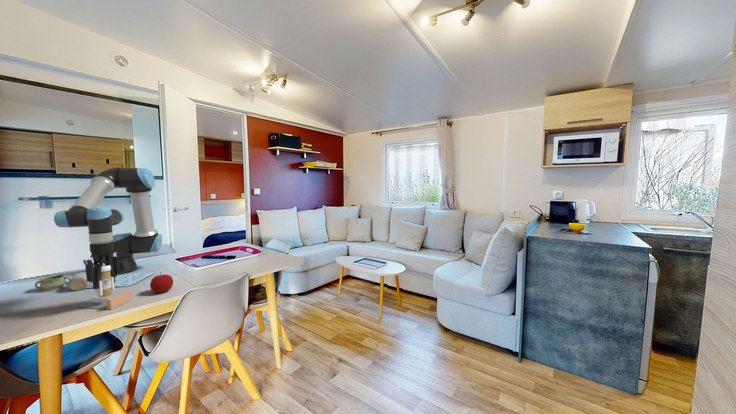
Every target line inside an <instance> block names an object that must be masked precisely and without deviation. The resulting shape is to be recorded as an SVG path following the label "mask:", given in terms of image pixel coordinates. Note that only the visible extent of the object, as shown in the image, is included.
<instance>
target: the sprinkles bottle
mask: <svg viewBox="0 0 736 414" xmlns="http://www.w3.org/2000/svg"><path fill="white" fill-rule="evenodd" d="M110 270H111V266H108V265H105V264H103V266H102V268H101V275H100V280H99V281H102V291H103V295H102V296H98V298H105V297H106V298H107V297H109V296H112V295H113V291H112V288H111V287H112V285H111V273H110Z"/></svg>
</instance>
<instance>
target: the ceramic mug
mask: <svg viewBox="0 0 736 414" xmlns="http://www.w3.org/2000/svg"><path fill="white" fill-rule="evenodd" d="M68 281H69V280H68ZM68 281H67V282H68ZM67 286H68V288H69V290H71V291H74V292H75V291H76V292H77V291H82V290H84V289H86V288H87V287H88V288H93V282H88V281H87V277H86V271H85V272H84V271H82V272H80V271H79V272H78V273H75V274H74V275H72V277H71V278H70V281H69V282H68V285H67Z"/></svg>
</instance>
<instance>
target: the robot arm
mask: <svg viewBox="0 0 736 414" xmlns="http://www.w3.org/2000/svg"><path fill="white" fill-rule="evenodd" d="M155 181H156V180H155V177H154V174H153V173H152V171H151V170H150V169H148V168H142V167H112V168H108V169H105V170H103V171H100V172H99V173H97V174H96V175H94V176H93V177H92V178H91V180H90V182H89V183H90V184H89V186H88V187H87V188H86V189H85V190H84V192H83V193H82V194H81V195H80V196H79V197H78V199H76V201H75V202H74V203H73V204H72V205H71V206H70V208H69V209H68V210H65V209H64V210H59V211H56V213H54V216H53V222H54V223H55V226H56V227H59V228H82V227H83V228H85V227H87V228H88V241H89V252H90V253H91V255H90V256H89V258H87V259H83V260H82V262H83V263H84V267H85V273H86V277H87V281H88V282H93V283H92V284H93V287H92V288H93V290H94V293H95V296H96V297H97V296H98V297H99V296H102V295H103V291H102V281H99V280H100V275H101V268H102V266H104V265H108V266H111V270H110V273H111V285H112V287H111V288H112V292H115V291H116V289H115V283H116V277H117V276H118V275H123V274H124V275H125V274H127V273H133V272H135V271H137V270H138V264H137V262H136V260H135V258H134V254H146V253H147V254H148V253H150V254H151V253H157V252H159V251H160V250H161V248H162V243H163V234H162V233H159V232H158V229H156V228H155V226H154V217H153V212H152V206H151V199H150V192H152V189H153V188H154V187H155V184H156V183H155ZM114 189H125V191H126V193H127V194H129V195H130V201H131V206H132V213H133V218H134V224H135V230H136V231H135V232H134V233H132V232H125V233H124V232H123V233H117V234H113V232H114V231H113V226H117V225H119V224H120V223H122V222H123V221H124V220H125V214H124V213H123V211H122V210H120V209H113V208H110V207H109V206H103V207H102V206H100V207H99V205H100V203H101V202H102V201H103V199H104V198H105V197H106V195H107V194H108V193H109V192H112V191H113V190H114ZM117 274H118V275H117Z"/></svg>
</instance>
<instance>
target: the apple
mask: <svg viewBox="0 0 736 414" xmlns="http://www.w3.org/2000/svg"><path fill="white" fill-rule="evenodd" d="M159 274H160V275H156V276H154V277H153V278H152V279H150V280H151V281H150V283H149V286H150V290H151V291H152V292H153V293H155V294H163V293H166V292H168V291H170V290H171V289H172V288H173V286H174V279H173V277H172V276H171V275H169V274H162V273H161V272H159Z"/></svg>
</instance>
